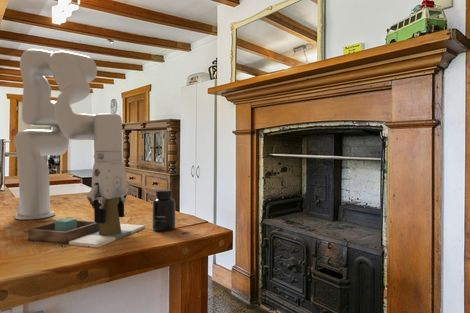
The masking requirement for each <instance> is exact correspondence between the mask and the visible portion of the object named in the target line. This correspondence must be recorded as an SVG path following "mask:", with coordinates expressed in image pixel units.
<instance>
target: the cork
mask: <svg viewBox="0 0 470 313" xmlns="http://www.w3.org/2000/svg"><path fill="white" fill-rule="evenodd" d="M101 197H102V196H101ZM100 202H101V200H99V203H100ZM118 203H119V197H117V198H112V199H106V201H105V204H104V207H103V208H105V223H100V228H99V235H115V234H119V233H121V226H120V224H121V222H120V217H119V213H118V207H117V205H118Z"/></svg>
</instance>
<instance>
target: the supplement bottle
mask: <svg viewBox="0 0 470 313" xmlns="http://www.w3.org/2000/svg"><path fill="white" fill-rule="evenodd" d="M172 196H173V190H172V189H168V188H166V189H164V188H163V189H156V190H155V197H156V198H155V199H153V201H152V230H153V231H155V232H161V233H162V232H163V233H164V232H171V231H174V230H175V228H176V200H175V199H174V198H173V197H172Z"/></svg>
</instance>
